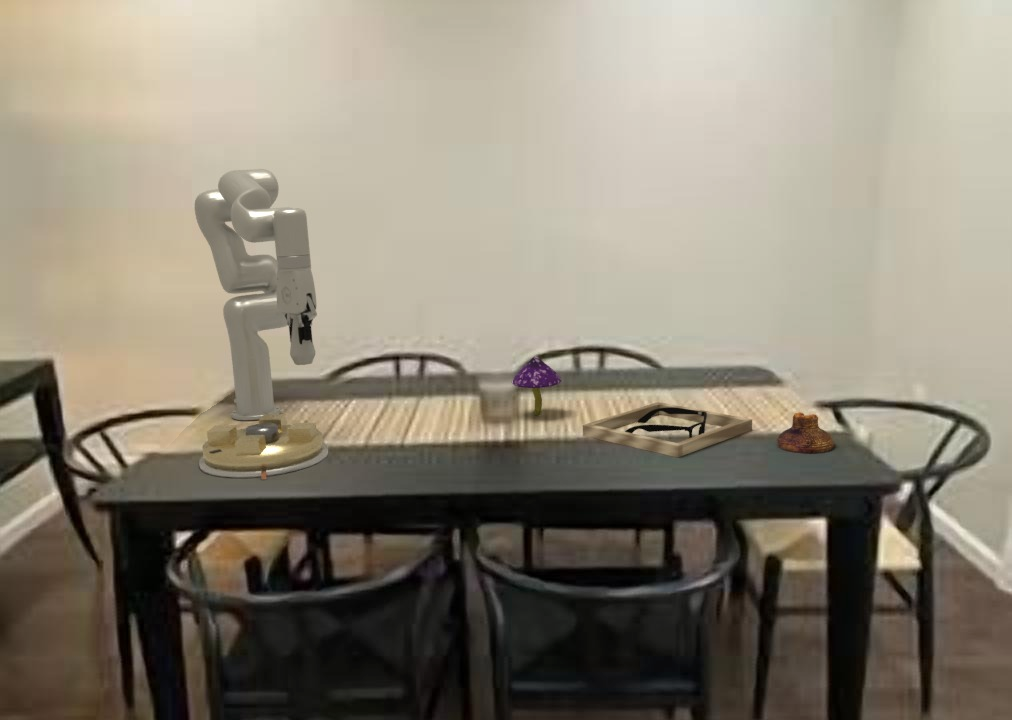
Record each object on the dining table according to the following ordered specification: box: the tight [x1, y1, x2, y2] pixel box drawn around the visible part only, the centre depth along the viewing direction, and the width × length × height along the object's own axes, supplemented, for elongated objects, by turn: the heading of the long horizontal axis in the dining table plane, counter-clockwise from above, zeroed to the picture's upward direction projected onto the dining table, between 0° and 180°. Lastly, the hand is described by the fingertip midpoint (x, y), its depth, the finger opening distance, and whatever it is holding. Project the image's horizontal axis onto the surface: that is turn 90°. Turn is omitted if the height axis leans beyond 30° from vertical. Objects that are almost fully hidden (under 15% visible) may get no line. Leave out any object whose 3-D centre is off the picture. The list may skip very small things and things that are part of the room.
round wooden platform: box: [202, 413, 324, 471], centre depth 224 cm, size 26×26×6 cm
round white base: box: [198, 442, 329, 481], centre depth 225 cm, size 28×28×1 cm
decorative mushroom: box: [512, 356, 563, 416], centre depth 249 cm, size 12×12×15 cm
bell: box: [776, 411, 835, 454], centre depth 215 cm, size 12×12×7 cm
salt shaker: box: [289, 310, 316, 366], centre depth 232 cm, size 6×6×13 cm
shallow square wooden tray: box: [582, 401, 753, 458], centre depth 230 cm, size 27×27×2 cm
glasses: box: [624, 407, 707, 439], centre depth 230 cm, size 16×18×5 cm
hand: (301, 342), depth 232 cm, fingers closed on salt shaker, 3 cm apart
